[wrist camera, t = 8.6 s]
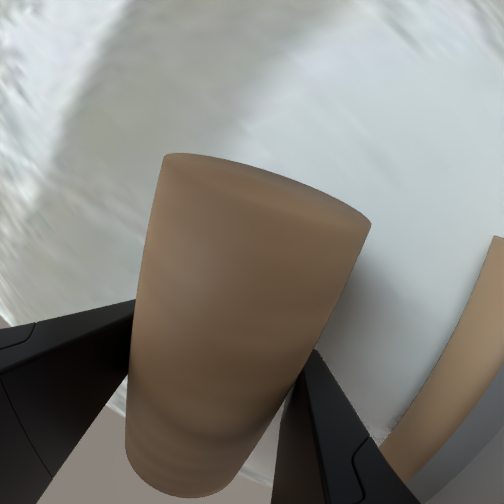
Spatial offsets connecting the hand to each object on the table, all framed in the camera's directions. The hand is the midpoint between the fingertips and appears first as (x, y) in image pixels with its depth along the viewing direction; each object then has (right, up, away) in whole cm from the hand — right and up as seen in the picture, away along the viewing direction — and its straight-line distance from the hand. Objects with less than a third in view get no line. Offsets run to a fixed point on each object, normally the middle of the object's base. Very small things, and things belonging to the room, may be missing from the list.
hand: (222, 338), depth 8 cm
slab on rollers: (+12, -2, 0) cm, 12 cm away
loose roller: (0, 0, -1) cm, 1 cm away
